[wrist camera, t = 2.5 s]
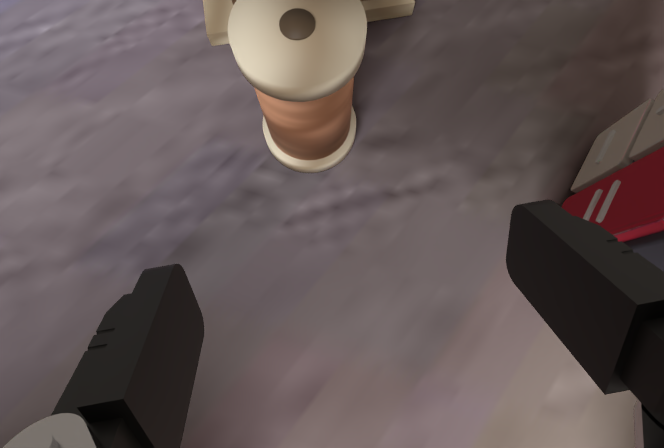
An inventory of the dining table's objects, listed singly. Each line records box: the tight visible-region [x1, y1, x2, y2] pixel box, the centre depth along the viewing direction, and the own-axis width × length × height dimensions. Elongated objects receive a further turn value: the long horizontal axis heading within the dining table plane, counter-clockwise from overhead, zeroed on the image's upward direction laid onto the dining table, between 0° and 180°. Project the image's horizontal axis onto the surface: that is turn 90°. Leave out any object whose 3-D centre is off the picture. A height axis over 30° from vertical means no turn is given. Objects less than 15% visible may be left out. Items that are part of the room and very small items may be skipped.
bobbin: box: [228, 0, 367, 173], centre depth 22 cm, size 6×6×10 cm
